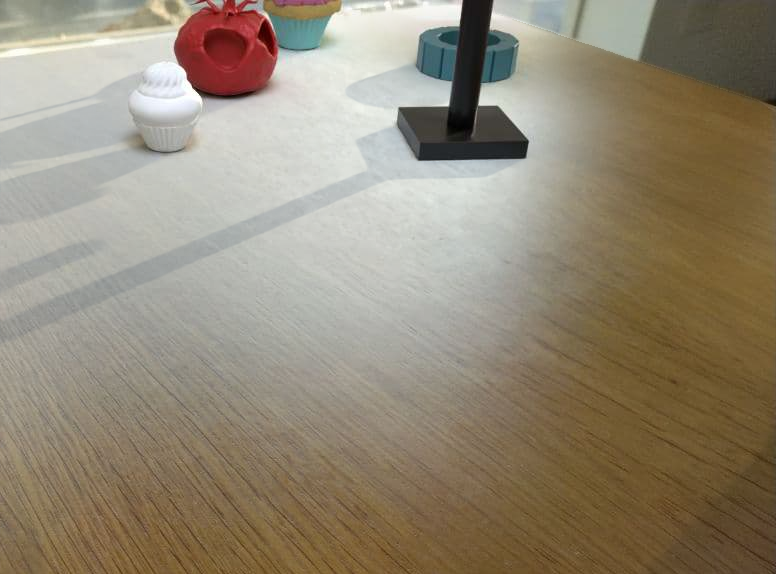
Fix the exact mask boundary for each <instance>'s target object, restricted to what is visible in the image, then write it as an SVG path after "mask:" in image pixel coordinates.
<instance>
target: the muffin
mask: <svg viewBox="0 0 776 574" xmlns="http://www.w3.org/2000/svg"><path fill="white" fill-rule="evenodd" d="M192 86H193V85H192V84H191V83H190V82H189V81H188V80H187V77H186V72H185V71H184V69H183V68H182V67H181V66H179V64H178V63H175V62H171V61H170V62H169V61H168V62H167V61H165V60H163V61H160V62H155V63H151V64H150V65H149V66H147V67H146V68H145V69H144V71H143V74H142V80H141V82H140V83H139V85H138V86H137V89H135V90H134V91H133V92H132V93H131V94H130V96H129V98H128V102H127V106H128V111H129V113H130V115H131V116H132V121H133V123H134V124H135V126H136V128H137V130H138V132H139V133H140V135H141V137H142V138H143V140H144V142H145V144H146V146H147V148H148V149H150V150H153V151H155V152H160V153H162V152H163V153H166V152H167V153H170V152H172V153H173V152H176V151H177V152H178V151H181V150H183V149H185V148H186V147H187V145H188V143H189V141H190V139H191V137H192V135H193V133H194V131H195V128H196V126H197V125H198V122H199V121H200V115H201V113H202V109H203V99H202V97H201V96H200V94H199V93H198V92H197V91H196V90H195V89H194V88H193V87H192Z"/></svg>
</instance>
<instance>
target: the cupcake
mask: <svg viewBox="0 0 776 574" xmlns="http://www.w3.org/2000/svg"><path fill="white" fill-rule="evenodd" d="M342 1H343V0H263V2H262V10H263V12H265V13H266V14H267V17H268V18H269V21H270V23H271V26H272V28H273V30H274V33H275V35H276V39H277V46H278V47H281V48H284V49H289V50H296V51H297V50H301V51H302V50H303V51H305V50H311V49H316V48H317V47H319V46H320V45H321V44H322V40H323V37H324V34H325V32H326V29H327V26H328V24H329V21H331V18H332V16H333V15H335V14H336V13H339V12H340V11H341V9H342V3H343V2H342Z"/></svg>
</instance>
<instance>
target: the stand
mask: <svg viewBox="0 0 776 574" xmlns="http://www.w3.org/2000/svg"><path fill="white" fill-rule="evenodd" d="M494 1H495V0H462V2H461V11H460V16H459V17H460V19H459V25H458V26H459V32H458V40H457V47H456V55H455V63H454V71H453V78H452V81H451V85H450V95H449V102H448V105H442V106H440V105H439V106H438V105H437V106H435V105H434V106H398V108H397V116H396V117H397V118H396V124H397V126H398V128H399V129H400V131H401V133H402V134H403V136H404V138H405V140H406V141H407V143H408V145H409V146H410V149H411V150H412V151H413V153H414V155H415V157H416V159H417V160H418V161H439V160H441V161H443V160H444V161H445V160H486V159H487V160H491V159H493V160H494V159H526V158H527V154H528V151H529V150H528V149H529V144H530V140H529V138H527V136H526V135H525V134H524V133H523V132H522V131H521V130H520V129H519V127H518V126H517V125H516V124H515V123H514V122H513V121H512V119H511V118H510V117H509V116H508V115H507V114H506V113H505V112H504V111H503V109H502V108H501V107H500V106H499V105H497V104H496V105H479V103H480V97H481V91H482V83H483V82H482V77H483V70H484V63H485V56H486V49H487V43H488V36H489V29H491V28H490V27H491V23H492V15H493V8H494Z"/></svg>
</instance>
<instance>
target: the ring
mask: <svg viewBox="0 0 776 574" xmlns="http://www.w3.org/2000/svg"><path fill="white" fill-rule="evenodd" d="M458 32H459V25H454V26H453V25H452V26H451V25H450V26H449V25H447V26H440V27H434V28H429V29H427V30H426V29H425V30H424V31H423V32H422V33H420V34H419V36H418V44H417V53H416V62H415V66H416V67H417V69H418V70H419V72H421V73H422V74H425V75H427V76H430V77H433V78H436V79H440V80H444V81H451V82H452V78H453V71H454V63H455V55H456V47H457V40H458ZM519 47H520V40H519V39H518V38H517V37H515V36H514V35H513V34H512V33H509V32H506V31H505V32H504V31H502V30H498V29H492V28H490V29H489V36H488V43H487V49H486V56H485V63H484V70H483V77H482V83H489V82H490V83H493V82H497V81H501V80H507V79H508V78H510V77H511V76H512V75H513V74H514V73H515V71H516V66H517V65H516V64H517V58H518V54H519Z"/></svg>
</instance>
